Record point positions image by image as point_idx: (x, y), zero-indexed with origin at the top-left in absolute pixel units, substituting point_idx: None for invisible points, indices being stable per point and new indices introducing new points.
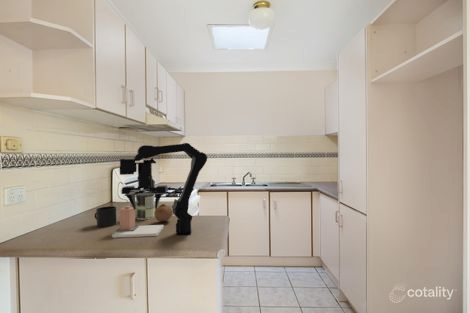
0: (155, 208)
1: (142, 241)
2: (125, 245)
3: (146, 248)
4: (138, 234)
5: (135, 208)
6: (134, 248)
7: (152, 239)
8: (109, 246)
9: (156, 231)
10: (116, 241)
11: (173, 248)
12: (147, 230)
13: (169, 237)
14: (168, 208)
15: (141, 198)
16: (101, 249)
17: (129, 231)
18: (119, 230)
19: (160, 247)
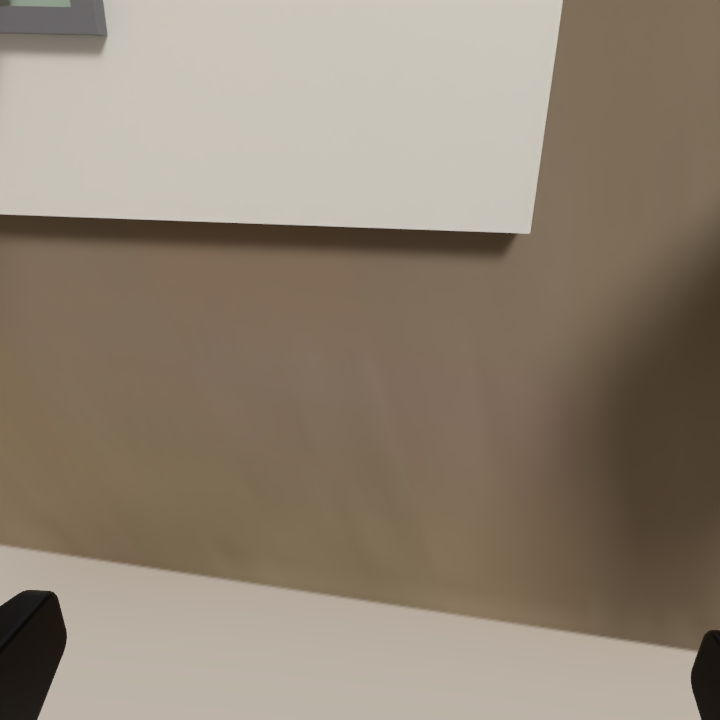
0: (698, 700)
1: (370, 407)
2: (224, 492)
3: (460, 592)
4: (252, 221)
5: (48, 623)
6: (345, 575)
7: (478, 358)
8: (73, 491)
9: (511, 129)
10: (57, 358)
11: None
12: (341, 34)
13: (699, 317)
14: None
15: None
16: (44, 548)
17: (43, 51)
18: None
19: (592, 592)
